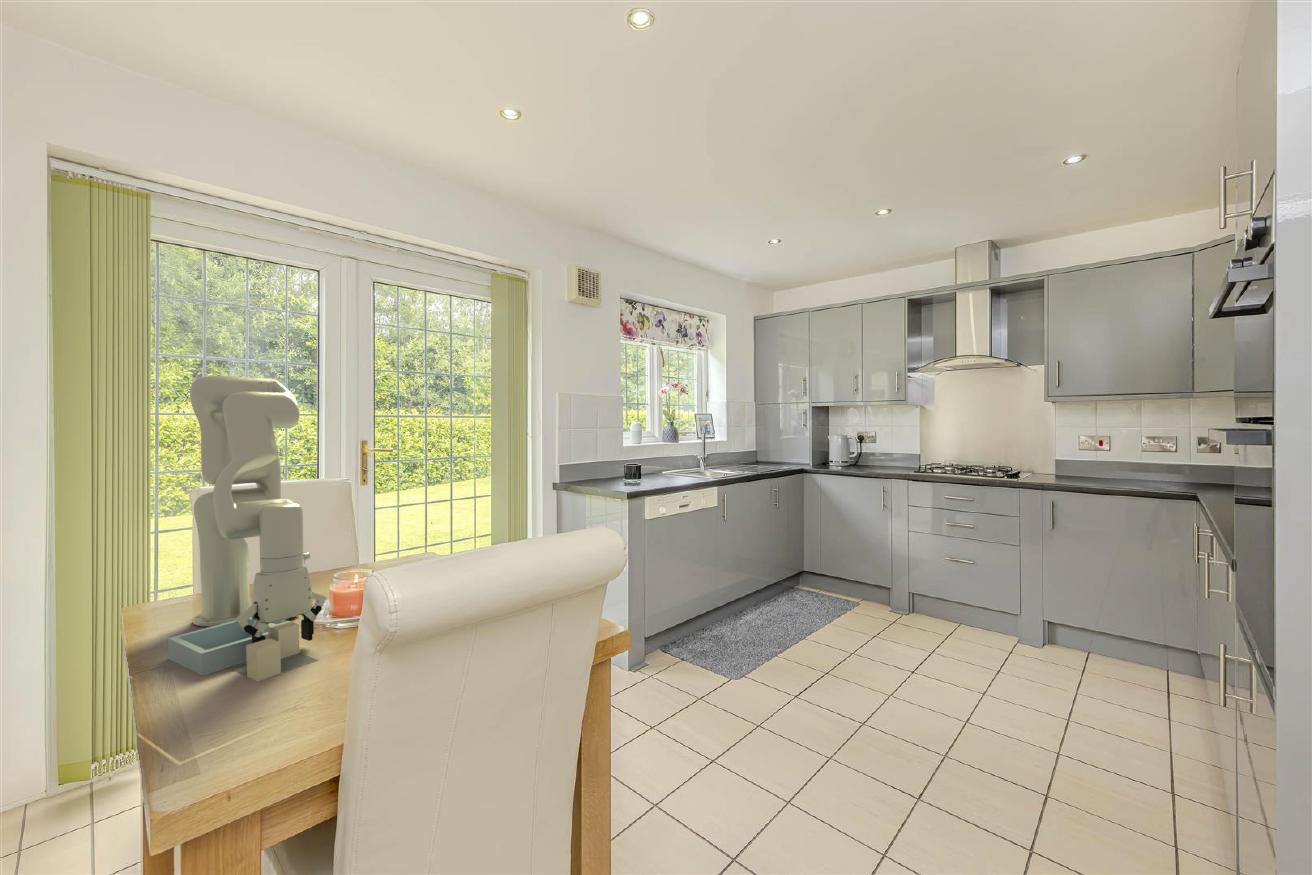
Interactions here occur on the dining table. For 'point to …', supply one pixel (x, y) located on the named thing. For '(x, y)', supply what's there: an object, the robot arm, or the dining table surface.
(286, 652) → the stone
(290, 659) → the dark mat
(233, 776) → the dining table surface
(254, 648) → the stone
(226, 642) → the blue bin
